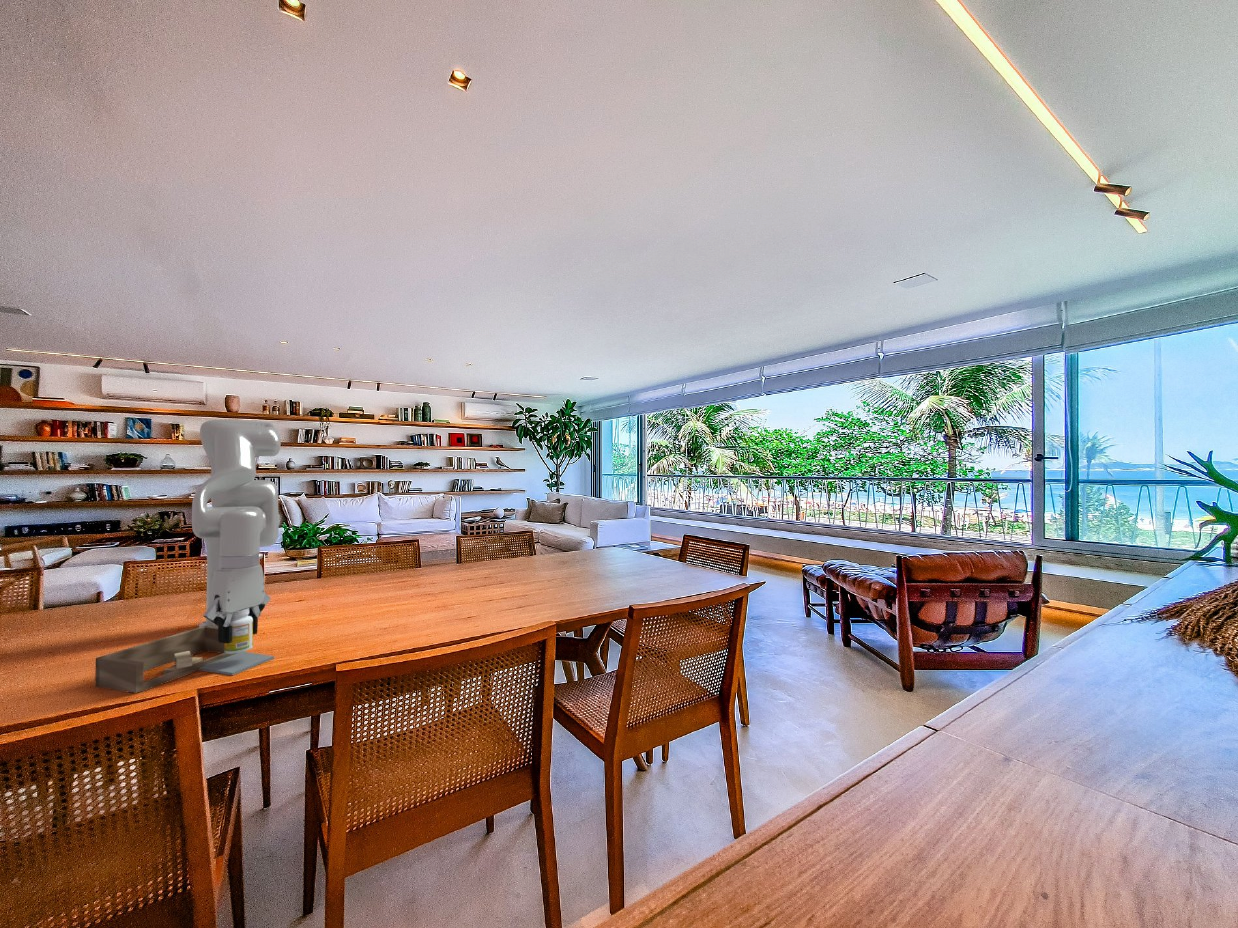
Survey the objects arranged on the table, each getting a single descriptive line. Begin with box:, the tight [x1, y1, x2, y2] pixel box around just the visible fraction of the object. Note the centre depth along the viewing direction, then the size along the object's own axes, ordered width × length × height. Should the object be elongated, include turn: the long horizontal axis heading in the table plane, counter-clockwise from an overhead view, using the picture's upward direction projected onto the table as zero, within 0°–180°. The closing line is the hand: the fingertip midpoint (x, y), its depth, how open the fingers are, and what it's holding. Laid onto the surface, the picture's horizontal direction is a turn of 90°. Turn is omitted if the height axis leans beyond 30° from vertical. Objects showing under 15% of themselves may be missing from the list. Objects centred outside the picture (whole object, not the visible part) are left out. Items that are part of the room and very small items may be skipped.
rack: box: [94, 625, 237, 694], centre depth 112 cm, size 22×12×6 cm, turn 166°
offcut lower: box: [162, 656, 203, 675], centre depth 111 cm, size 7×3×2 cm, turn 0°
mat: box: [198, 651, 275, 676], centre depth 115 cm, size 10×10×1 cm
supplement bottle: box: [224, 608, 254, 654], centre depth 115 cm, size 5×5×10 cm
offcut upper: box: [173, 651, 193, 669], centre depth 111 cm, size 6×3×2 cm, turn 46°
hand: (238, 637), depth 115 cm, fingers closed on supplement bottle, 5 cm apart
